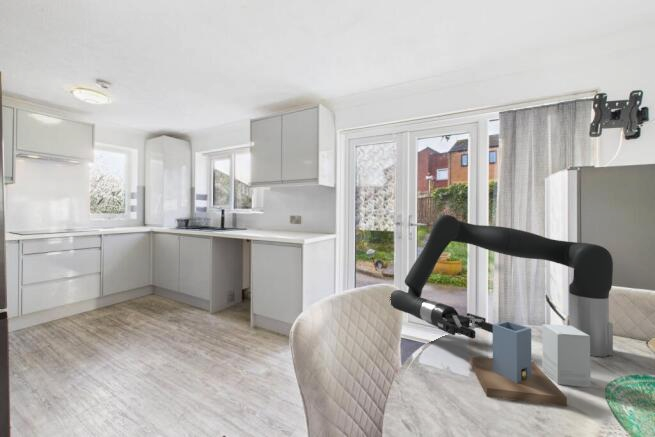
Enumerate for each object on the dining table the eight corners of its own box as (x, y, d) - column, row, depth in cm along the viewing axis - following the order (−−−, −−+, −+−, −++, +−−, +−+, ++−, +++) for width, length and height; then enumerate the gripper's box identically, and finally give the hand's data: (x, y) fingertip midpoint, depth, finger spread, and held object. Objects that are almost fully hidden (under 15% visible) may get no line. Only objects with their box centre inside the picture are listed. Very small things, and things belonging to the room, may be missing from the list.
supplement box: (591, 388, 70) (591, 336, 70) (557, 384, 72) (556, 333, 72) (572, 372, 78) (572, 325, 78) (541, 369, 79) (541, 323, 79)
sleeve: (492, 371, 74) (492, 324, 74) (507, 365, 77) (507, 320, 77) (516, 383, 69) (516, 332, 69) (531, 376, 72) (531, 328, 72)
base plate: (533, 369, 79) (533, 362, 79) (567, 406, 64) (567, 397, 64) (469, 362, 83) (469, 355, 83) (486, 396, 67) (486, 387, 67)
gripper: (421, 305, 91) (467, 322, 76) (453, 300, 97) (501, 314, 83) (421, 329, 91) (467, 351, 76) (453, 322, 97) (501, 340, 83)
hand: (485, 332), depth 80 cm, fingers open, 8 cm apart
